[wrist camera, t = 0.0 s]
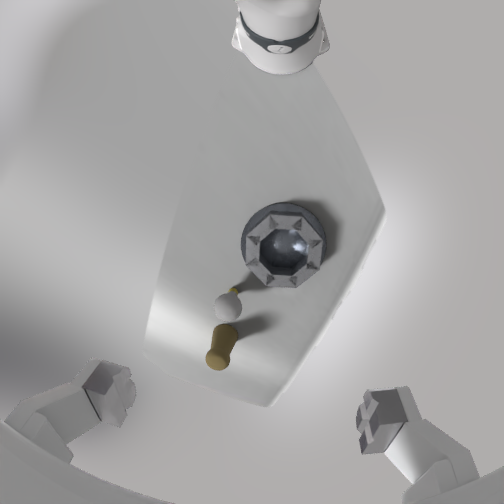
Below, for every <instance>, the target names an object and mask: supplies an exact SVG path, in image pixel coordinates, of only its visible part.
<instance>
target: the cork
mask: <svg viewBox="0 0 504 504" xmlns="http://www.w3.org/2000/svg"><path fill="white" fill-rule="evenodd" d="M237 338H238V333H237V330H236V329H235V328H234V327H232V326H230V325H227V324H221V325H218V326H216V327H215V329H214V331H213V337H212V343H211V349H210V350H209V351H208V353H207V355H206V363H207V365H208V366H209V367H210V368H212V369H214V370H223V369H225V368H227V367H228V365H229V363H230V356H229V355H230V353H231V351H232V349H233V347H234V345H235V343H236V341H237Z"/></svg>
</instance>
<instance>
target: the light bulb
mask: <svg viewBox="0 0 504 504" xmlns="http://www.w3.org/2000/svg"><path fill="white" fill-rule="evenodd" d="M237 295H238V291H237V289H235V288H231V289H230V290H229V291H228V293H227V294H223V295H221V296H219V297H218V298H217V299H216V301H215V304H214V312H215V314H216V316H217V317H218V318H219V319H220V320H222V321H225V322H231V321H234V320H236V319H237V318H238V317H239V316H240V314H241V311H242V304H241V301H240V300H239V298H238V297H237Z"/></svg>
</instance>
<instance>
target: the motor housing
mask: <svg viewBox="0 0 504 504" xmlns="http://www.w3.org/2000/svg"><path fill="white" fill-rule="evenodd" d="M241 250H242V255H243V258H244V260H245V262H246V266H247V267H248V268H249V269H250V270H251V271H252V272H253V273H254V274H255V275H256V276H257V277H258V278H259V279H260V280H261V281H262V282H263V283H264V284H265V285H266V286H272V287H288V288H297V287H298V286H299V285H301V284H302V283H303V282H304V281H306V280H307V279H308V278H310V277H311V276H312V275H313V274H315V273H316V272H317V271H318V270H319V269H320V265H321V263H322V261H323V259H324V256H325V252H326V237H325V233H324V230H323V228H322V226H321V224H320V222H319V221H318V220H317V218H316V217H315V216H314V215H313V214H312V213H310V212H309V211H308V210H306V209H304V208H303V207H300V206H298V205H294V204H288V203H279V204H273V205H269V206H267V207H265V208H263V209H261V210H259V211H258V212H257V213H255V214H254V215H253V216H252V217H251V218H250V220H249V221H248V223H247V224H246V226H245V228H244V231H243V234H242V238H241Z"/></svg>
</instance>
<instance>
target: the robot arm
mask: <svg viewBox="0 0 504 504" xmlns="http://www.w3.org/2000/svg"><path fill="white" fill-rule="evenodd" d="M234 1H235V2H236V3H237V5H238V11H239V12H240V16H239V17H237V19H236V23H237V25H236V28H235V32H234V35H233V38H232V46H233V47H234V48H235V49H237V50H239V51H241V52H243V53H244V54H245V55H246V56H247V58H248V59H249V60H250V61H251V63H252V64H254V65H255V66H256V67H258V68H259V69H261V70H263V71H266V72H269V73H273V74H291V73H295V72H298V71H301V70H303V69H304V68H306V67H307V66H309V65H310V64H311V63H312V61H313V60H314V59H315V58H316V57H317V56H318V55H321V54H323V53H325V52H327V51H328V50H329V47H330V46H329V41H328V37H327V34H326V30H325V27H324V23H323V20H322V17H321V13H320V10H319V6H320V2H321V0H234ZM237 38H238V39H237ZM323 41H324V42H323ZM130 377H131V372H130V369H129V368H128V367H125V366H121V365H118V364H114V363H111V362H108V361H105V360H101V359H98V358H95V357H93V358H91V359H90V360H89V361H88V362H87V363H86V364H85V366H84V367H83V368H82V369H81V371H80V372H79V373H78V374H77V375H76V377H75V378H74V379H73V381H72V382H71V383H65V384H62V385H60V386H57V387H55V388H52V389H50V390H47V391H45V392H42V393H40V394H37V395H35V396H32V397H30V398H27V399H25V400H22V401H20V402H19V404H18V405H17V406H16V407H15V408H14V410H13V411H12V412H11V413H10V415H9V416H8V417H7V418H6V420H5V421H2V420H1V419H0V504H174V503H170V502H166V501H162V500H158V499H155V498H152V497H148V496H146V495H143V494H140V493H136V492H134V491H130V490H128V489H125V488H122V487H120V486H117V485H115V484H112V483H110V482H107V481H105V480H103V479H100V478H98V477H96V476H94V475H91V474H89V473H87V472H85V471H83V470H81V469H79V468H77V467H75V466H73V465H71V464H70V462H71V460H72V458H73V453H72V452H71V450H70V449H69V448H68V447H67V445H66V444H68V443H69V442H71V441H73V440H74V439H76V438H77V437H79V436H81V435H82V434H84V433H85V432H87V431H89V430H90V429H92V428H93V427H95V426H96V425H98V424H99V423H101V421H102V422H105V423H107V424H111V425H114V426H117V427H121V425H122V424H123V422H124V420H125V418H126V416H127V413H126V409H128V408H130V407H132V405H133V403H134V401H135V397H136V387H135V384H134V382H132V380H131V379H130ZM363 398H364V402H363V403H362V404H361V405H360V406H359V408H358V411H357V416H356V425H357V430H358V431H359V432H360V433H361V434H362V435H361V437H360V439H359V442H360V447H361V453H362V454H372V453H382V452H385V453H384V454H385V455H386V456H387V457H388V458H389V459H390V460H391V462H392V463H393V464H394V465H395V466H396V467H397V468H398V469H399V470H400V471H401V472H402V473H403V475H404V476H405V477H406V478H407V479H408V480H409V481H410V482H411V483H412V484H413V485H412V486H411V487H409V488H408V489H407V490H406V491H405V492H404V493H403V494H402V495H401V499H402V504H504V466H503V467H501V468H499V469H497V470H495V471H493V472H491V473H489V474H487V475H485V476H483V477H481V478H480V477H479V474H478V471H477V468H476V466H475V463H474V461H473V458H472V456H471V453H470V451H469V450H468V449H467V448H465V447H464V446H462V445H461V444H460V443H458V442H457V441H455V440H454V439H453V438H451V437H450V436H448V435H447V434H445V433H444V432H443V431H442V430H440V429H439V428H437V427H436V426H435V425H433V424H432V423H431V422H429V421H428V420H426V419H424V420H422V418H421V415H420V413H419V410H418V408H417V405H416V403H415V400H414V398H413V396H412V393H411V391H410V389H409V387H407V386H404V387H395V388H383V389H371V390H367V391H366V392H365V394H364V396H363Z"/></svg>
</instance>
